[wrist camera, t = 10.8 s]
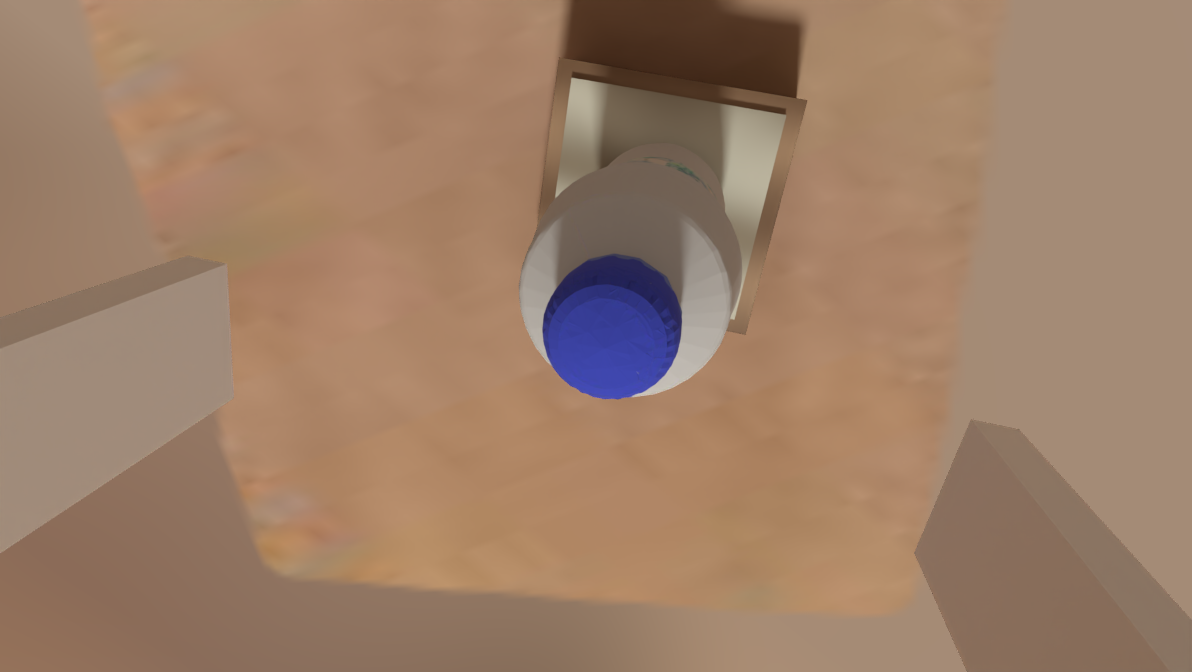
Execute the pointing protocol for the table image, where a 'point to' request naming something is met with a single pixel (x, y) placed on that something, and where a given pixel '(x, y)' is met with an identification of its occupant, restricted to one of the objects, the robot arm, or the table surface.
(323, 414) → the table surface
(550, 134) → the picture frame
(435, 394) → the table surface
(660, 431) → the table surface
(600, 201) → the bottle
